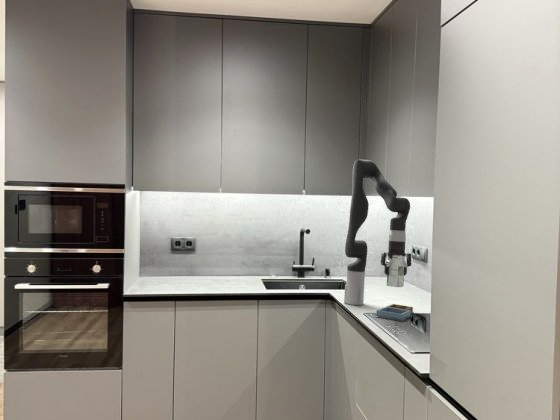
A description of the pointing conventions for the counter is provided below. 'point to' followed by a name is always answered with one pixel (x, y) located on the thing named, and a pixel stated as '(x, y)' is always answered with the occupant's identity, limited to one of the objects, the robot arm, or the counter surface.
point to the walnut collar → (401, 307)
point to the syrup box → (396, 272)
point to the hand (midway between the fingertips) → (395, 275)
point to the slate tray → (394, 313)
